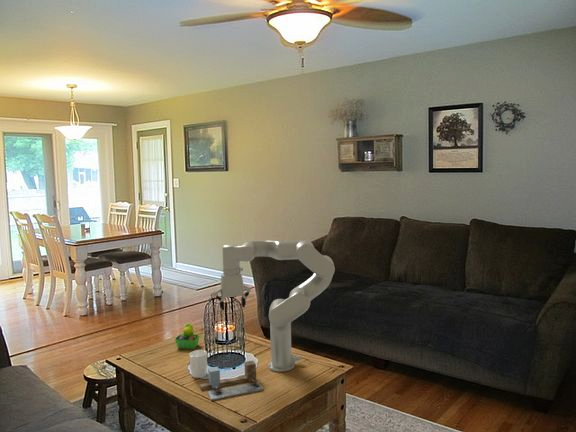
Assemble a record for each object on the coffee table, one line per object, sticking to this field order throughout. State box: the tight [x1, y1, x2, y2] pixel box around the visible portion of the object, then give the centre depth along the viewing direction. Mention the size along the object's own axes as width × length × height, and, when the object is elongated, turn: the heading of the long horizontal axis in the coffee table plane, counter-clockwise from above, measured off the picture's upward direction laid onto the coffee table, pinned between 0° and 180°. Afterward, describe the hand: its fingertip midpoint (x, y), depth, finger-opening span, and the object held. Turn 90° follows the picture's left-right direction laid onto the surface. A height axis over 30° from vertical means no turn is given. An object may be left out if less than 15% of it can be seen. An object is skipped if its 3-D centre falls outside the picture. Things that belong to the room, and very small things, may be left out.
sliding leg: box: [207, 366, 221, 390], centre depth 201 cm, size 4×7×7 cm, turn 21°
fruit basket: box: [174, 322, 201, 350], centre depth 248 cm, size 11×9×11 cm
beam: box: [199, 360, 257, 391], centre depth 204 cm, size 24×7×8 cm, turn 111°
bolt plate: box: [207, 381, 265, 402], centre depth 197 cm, size 22×7×1 cm, turn 111°
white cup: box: [188, 349, 208, 379], centre depth 214 cm, size 8×8×10 cm
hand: (233, 308), depth 218 cm, fingers open, 9 cm apart
